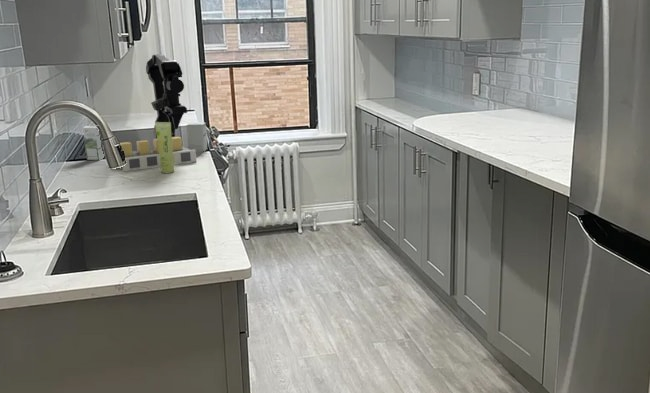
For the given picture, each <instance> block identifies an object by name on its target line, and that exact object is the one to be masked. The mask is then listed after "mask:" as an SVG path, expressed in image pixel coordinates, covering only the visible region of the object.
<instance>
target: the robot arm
mask: <svg viewBox="0 0 650 393" xmlns="http://www.w3.org/2000/svg"><path fill="white" fill-rule="evenodd" d="M145 71H146V72H145V73H146V74H147V76H148V80H150V82H151V83H152V86H153V91H154V101H152V102H150V104H151V105H152V108H153V110H154V111H156V115H157V116H156V118H155V122H171V137H176V130H178V128H179V126H180V123H181V121H182V118H183V115H184V114H187V113H188V108H187V107H186V106H185V105H182V103H180V97H181V93H182V92H183V91H184V89H185V84H184V82H183V80H181V79H180V78H182V77H183V71H182V68H181V65H180V63H178V61H177V60H175V59H174V60H173V59H169V58H167V57H166V56H165V54H163V53H161V54H160V53H159V54H158V53H156V54H154V53H153V55H152V56H151V58H150V59H149V60H148V61H146V66H145ZM155 122H154V123H155ZM153 137H154V139H157V133H156V126H155V125H154V128H153Z"/></svg>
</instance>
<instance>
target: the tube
mask: <svg viewBox="0 0 650 393" xmlns="http://www.w3.org/2000/svg"><path fill="white" fill-rule="evenodd" d="M154 126H156V133H157V140H158V147H159V155H160V164H161V166H160V170H161V173H162V174H163V173H164V174H171V173H174V172H175V165H174V161H173V150H172V137H171V122H154Z"/></svg>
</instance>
